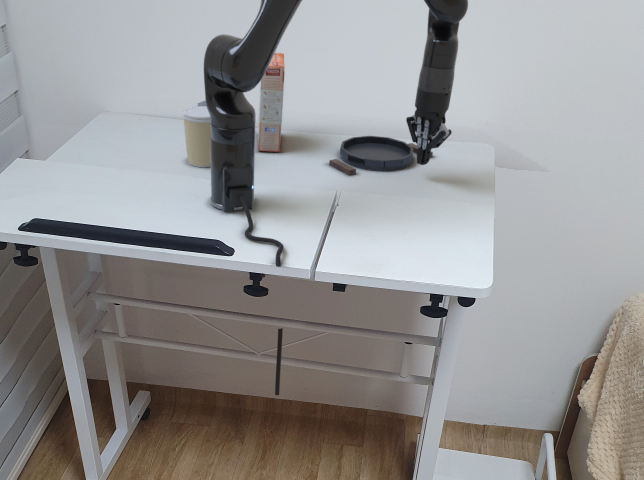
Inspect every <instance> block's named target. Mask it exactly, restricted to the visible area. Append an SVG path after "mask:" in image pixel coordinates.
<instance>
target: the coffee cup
mask: <svg viewBox="0 0 644 480" xmlns="http://www.w3.org/2000/svg"><path fill="white" fill-rule="evenodd" d="M182 118H183V127H184V139H185V147H186V157H187V162H188V164H189V165H191V166H193V167H197V168H209V167H210V168H211V151H210V114H209V112H208V109H207V106H198V105H196V106H195V105H194V106H190V107H187V108H185V110H183V113H182Z"/></svg>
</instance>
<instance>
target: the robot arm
mask: <svg viewBox="0 0 644 480" xmlns="http://www.w3.org/2000/svg"><path fill="white" fill-rule="evenodd" d="M423 1H424V3H425V4H426V6H427V8H428V15H427V28H426V29H427V30H426V32H427V33H426V41H425V45H424V48H423V57H422V64H421V67H420V71H419V74H418V81H417V88H416V95H415V100H414V107H415V108H416V109H415V111H414V114H413V115H411V116H407V117H406V120H405V121H406V125H407V127H408V131H409V134H410V137H411V141H412V143H415V144H416V145H417V146H418V152H417V154H416V163H417V164H419V166H424V165H425V166H426V165H427V164H428V163H430V158H431V157H430V153H431V152H432V150H433V149H439V147H441V146H442V144H444V143H445V141H446V140H447V139H448V138H449V137H450V136H451V135H452V131H453V130H452V129H450V128H447V126H446V122H447V119H446V114H447V111H449V109H450V103H451V97H452V92H453V86H454V82H455V69H456V62H457V57H458V51H459V36H458V33H459V28H460V22H461V21H462V20H463V19H464V18H465V16H466V15H467V12H468V8H469V0H423ZM302 2H303V0H260V5H259V9H258V12H257V15H256V17H255V19H254V21H253V22H252V24H251V26H250V27H249V30H248V31H247V32H246V33H245V35H244V36H243V38H241V37H238V36H234V35H230V34H218V35H216V36H214V37H213V38H212V39H211V40H210V41H209V43H208V44H207V46H206V49H205V53H204V56H203V83H204V96H205V97H204V98H205V99H204V101H206V106H207V109H208V112H209V114H210V151H211V167H210V204H211V205H212V206H213V207H214V208H216V209H218V210H221V211H223V212H224V213H230V212H241V211H244V213H245V216H246V219H247V223H248V226H247V229H246V230H244V236H245V237H246V239H248V240H250V241H254V242H258V243H259V242H261V243H267V244H272V245H275V246H276V247H278V248H277V250H276V253H275V266H276V267H277V268H281V266H282V265H281V264H282V263H281V255H282V253H283V251H284V249H285V246H284V243H282V242H281V241H279V240H277V239H276V238H275V239H274V238H270V237H262V236H255V235H252V234H250V233H251V232H252V231H253V229H254V222H253V218H252V214H251V212H250V210H253V206H254V204H255V157H256V155H255V153H256V152H255V151H256V121H257V120H256V119H257V118H256V109H255V108H254V106H253V105H252V104H251V103H250V102H249V101H248V99H247V97H246V96H245V93H248V92H250V91H252V90H254V89H255V88H256V87H257V86H258V85H260V81H261V79H262V78H263V76H264V74H265V72H266V70H267V68H268V66H269V64H270V62H271V60H272V58H273V55H274V53H276V52H277V49H278V47H279V44H280V43H281V40H282V38H283V36H284V35H285V32H286V31H287V29H288V27H289V25H290V24H291V22H292V19H293V18H294V16H295V14H296V13H297V11H298V9H299V7H300V6H301V3H302ZM283 330H284V328H278V329H277V347H276V361H275V362H276V365H275V384H274V395H275V396H280V390H281V389H280V386H281V385H280V384H281V368H282V354H283V353H282V350H283V349H282V348H283V334H284V333H283Z"/></svg>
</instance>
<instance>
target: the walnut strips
mask: <svg viewBox="0 0 644 480" xmlns="http://www.w3.org/2000/svg"><path fill="white" fill-rule="evenodd" d="M407 144H408V145H410V146H411V147H413V154H414V153H415V154H416V155H417V152H418V146H417V144H416V143H414V142H410V143H407ZM433 155H434V152H433V151H431V153H430V158H433ZM328 166H331V167H332V168H334V169H336V170H338V171H340V172H342V173H344V174H346V175H347V176H353V175H357V168H356V167H354V166H351V165H349V164H347V163H345V162H344V161H342V160H339V159H337V158H333V159H329V162H328Z"/></svg>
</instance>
